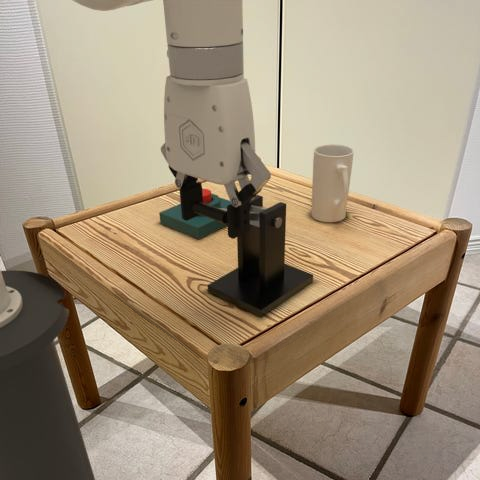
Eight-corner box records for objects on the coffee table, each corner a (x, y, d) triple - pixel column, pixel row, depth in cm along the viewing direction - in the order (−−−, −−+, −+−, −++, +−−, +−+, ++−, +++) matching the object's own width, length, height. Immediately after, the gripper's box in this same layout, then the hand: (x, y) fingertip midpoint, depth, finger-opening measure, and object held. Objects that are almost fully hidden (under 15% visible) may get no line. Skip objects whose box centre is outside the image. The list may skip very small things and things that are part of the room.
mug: (305, 210, 97) (308, 146, 90) (338, 206, 98) (344, 142, 91) (323, 233, 89) (328, 164, 82) (359, 228, 90) (368, 160, 83)
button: (201, 207, 90) (201, 197, 89) (187, 202, 92) (186, 192, 91) (215, 200, 92) (215, 191, 91) (201, 196, 94) (201, 187, 93)
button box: (198, 239, 88) (197, 217, 85) (160, 223, 93) (157, 203, 91) (245, 216, 95) (244, 196, 93) (206, 203, 100) (205, 183, 98)
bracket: (261, 317, 68) (261, 230, 61) (207, 292, 74) (202, 208, 67) (313, 281, 76) (318, 199, 68) (261, 260, 81) (261, 182, 74)
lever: (220, 227, 59) (225, 207, 58) (190, 216, 62) (194, 196, 61) (279, 231, 68) (284, 213, 68) (251, 221, 71) (255, 204, 70)
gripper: (123, 60, 54) (145, 216, 65) (246, 79, 45) (249, 258, 55) (175, 51, 59) (188, 198, 69) (298, 66, 49) (291, 234, 60)
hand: (215, 224), depth 62 cm, fingers open, 7 cm apart
